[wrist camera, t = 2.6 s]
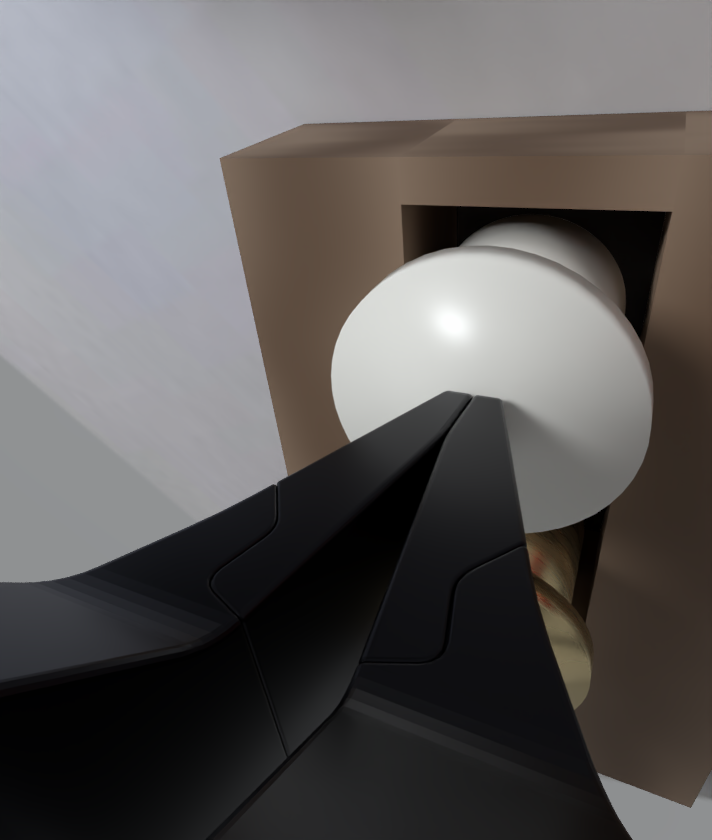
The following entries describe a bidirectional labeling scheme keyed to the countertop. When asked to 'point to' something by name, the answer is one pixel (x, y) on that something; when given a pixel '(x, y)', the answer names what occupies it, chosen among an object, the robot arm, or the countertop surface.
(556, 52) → the countertop surface
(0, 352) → the countertop surface
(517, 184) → the control panel
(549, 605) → the brass knob
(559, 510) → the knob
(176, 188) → the countertop surface
